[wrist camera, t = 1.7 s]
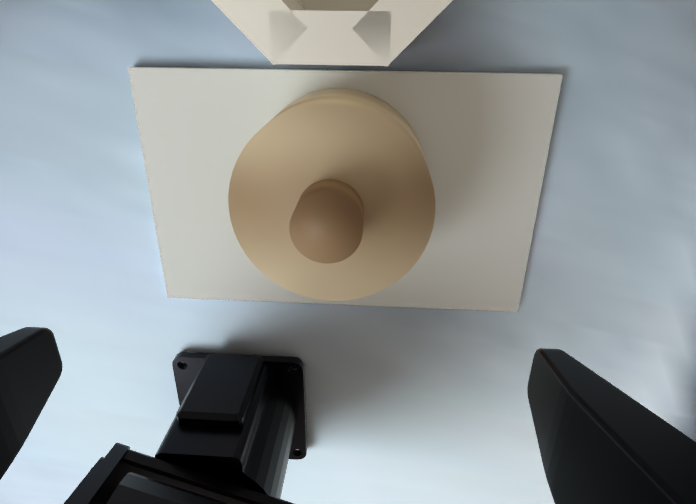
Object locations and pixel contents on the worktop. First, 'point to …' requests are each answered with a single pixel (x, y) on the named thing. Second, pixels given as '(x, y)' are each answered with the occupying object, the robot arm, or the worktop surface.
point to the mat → (437, 145)
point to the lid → (333, 196)
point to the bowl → (332, 28)
